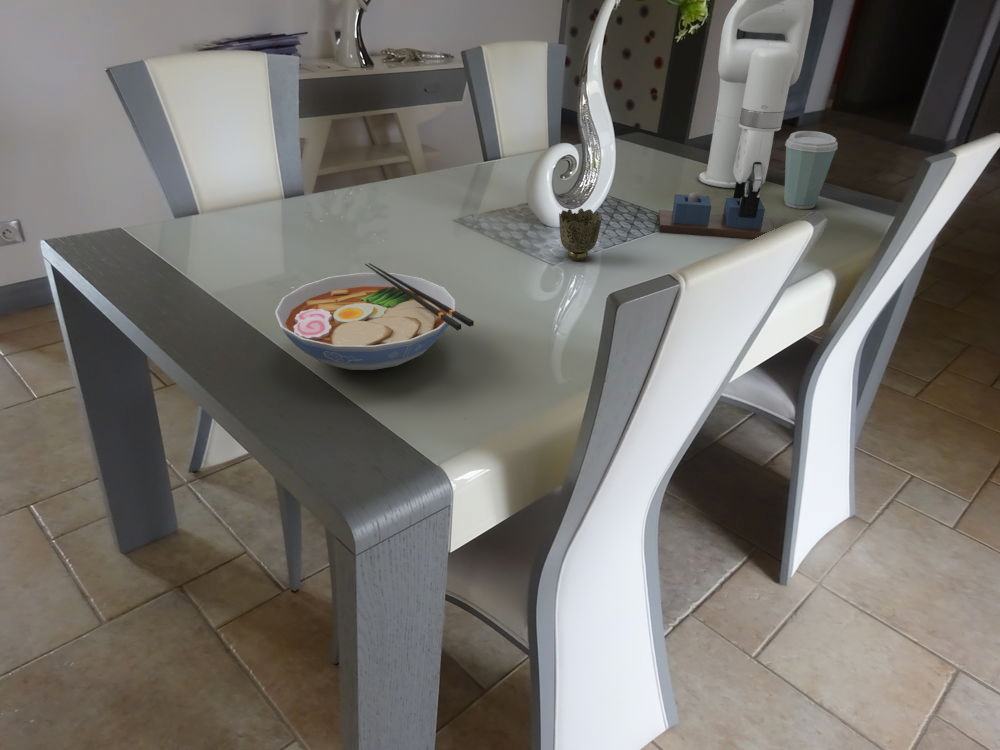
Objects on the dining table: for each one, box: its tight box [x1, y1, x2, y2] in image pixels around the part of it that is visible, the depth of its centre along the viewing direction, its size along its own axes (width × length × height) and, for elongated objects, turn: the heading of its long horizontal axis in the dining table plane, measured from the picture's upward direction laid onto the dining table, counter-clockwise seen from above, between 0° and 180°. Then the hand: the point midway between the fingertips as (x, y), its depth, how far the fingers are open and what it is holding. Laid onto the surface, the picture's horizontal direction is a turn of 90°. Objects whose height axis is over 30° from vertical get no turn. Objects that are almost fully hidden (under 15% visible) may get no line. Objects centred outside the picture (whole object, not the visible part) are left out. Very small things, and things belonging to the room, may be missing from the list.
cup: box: [558, 207, 603, 262], centre depth 130 cm, size 8×7×8 cm
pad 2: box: [722, 197, 766, 229], centre depth 146 cm, size 7×7×4 cm
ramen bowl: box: [274, 262, 475, 371], centre depth 97 cm, size 25×23×8 cm
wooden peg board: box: [657, 191, 775, 240], centre depth 147 cm, size 10×22×7 cm, turn 81°
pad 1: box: [672, 193, 712, 226], centre depth 148 cm, size 7×7×4 cm
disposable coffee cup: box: [783, 130, 839, 210], centre depth 161 cm, size 11×11×15 cm
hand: (743, 209), depth 146 cm, fingers open, 9 cm apart
